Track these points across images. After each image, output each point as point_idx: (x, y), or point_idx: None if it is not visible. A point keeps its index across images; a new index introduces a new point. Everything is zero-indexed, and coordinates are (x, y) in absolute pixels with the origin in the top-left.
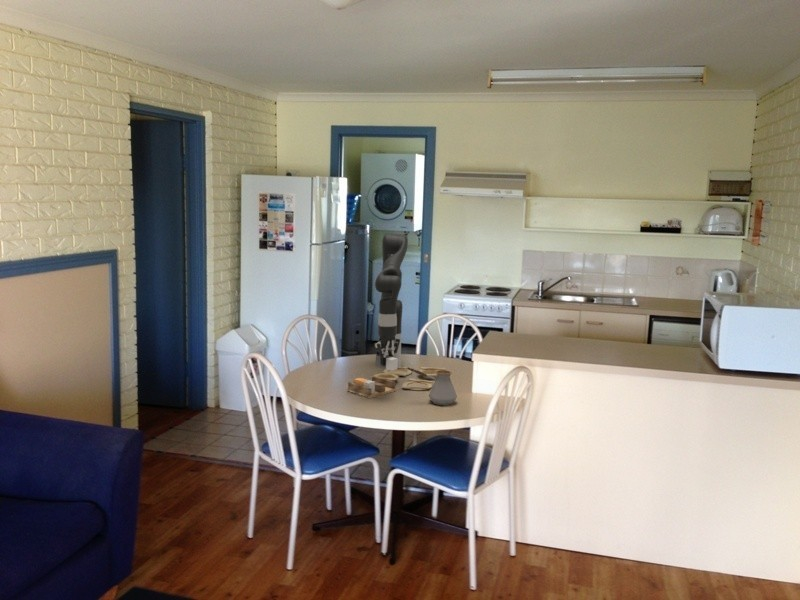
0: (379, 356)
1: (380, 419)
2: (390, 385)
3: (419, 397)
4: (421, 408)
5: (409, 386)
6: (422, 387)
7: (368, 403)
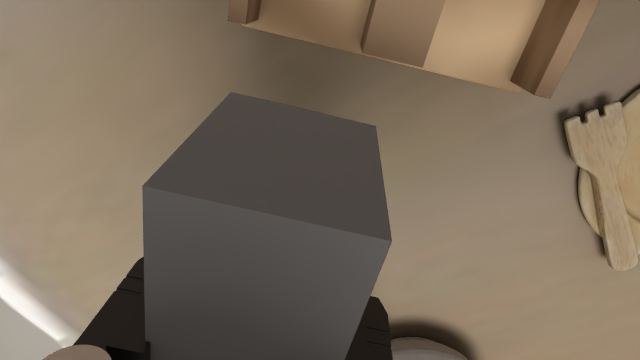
0: (147, 284)
1: (3, 260)
2: (537, 45)
3: (438, 264)
4: None
5: (607, 157)
6: (606, 237)
7: (146, 75)
